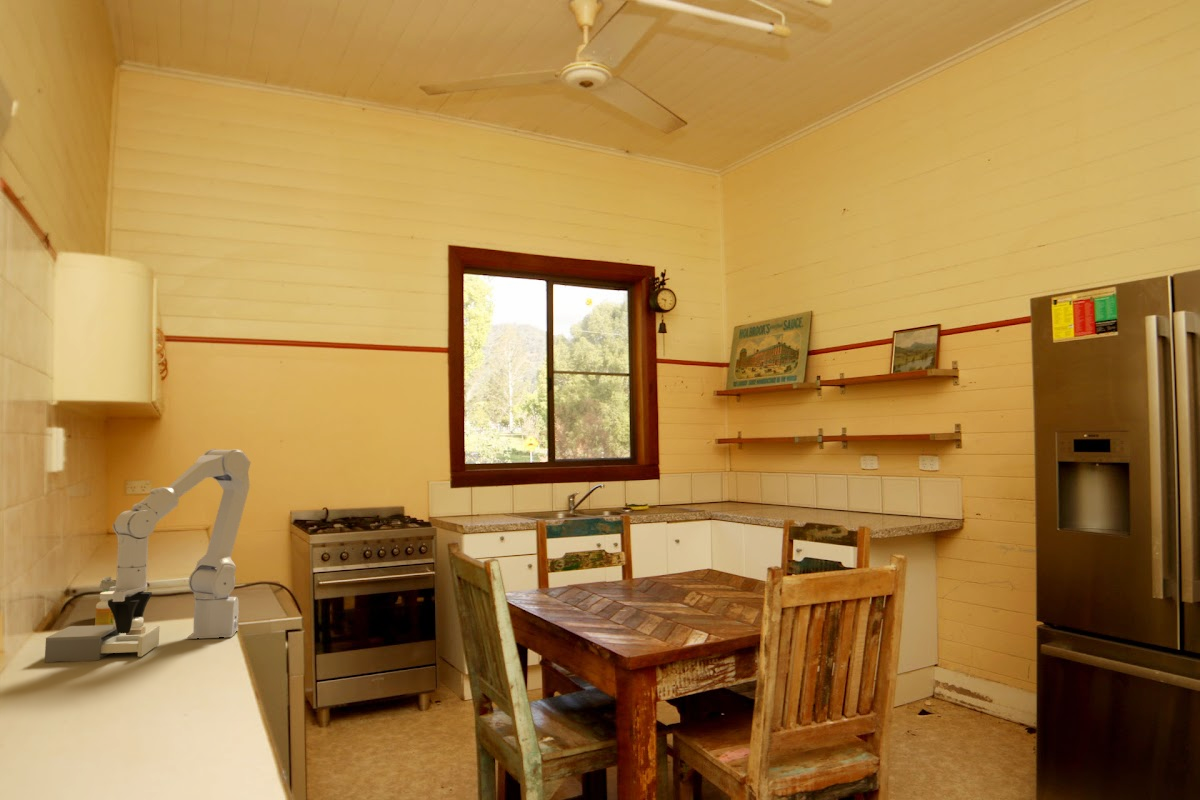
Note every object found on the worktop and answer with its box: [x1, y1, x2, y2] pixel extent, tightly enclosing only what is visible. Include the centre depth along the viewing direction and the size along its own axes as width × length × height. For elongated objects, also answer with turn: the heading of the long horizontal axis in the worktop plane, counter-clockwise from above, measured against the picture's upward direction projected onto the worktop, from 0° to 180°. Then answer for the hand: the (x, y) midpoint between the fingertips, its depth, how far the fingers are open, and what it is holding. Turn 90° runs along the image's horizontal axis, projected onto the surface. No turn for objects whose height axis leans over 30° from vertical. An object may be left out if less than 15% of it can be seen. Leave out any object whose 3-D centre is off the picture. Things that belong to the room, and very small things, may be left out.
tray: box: [101, 625, 160, 657], centre depth 171 cm, size 10×11×4 cm
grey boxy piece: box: [44, 624, 120, 663], centre depth 169 cm, size 10×11×5 cm
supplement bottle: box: [94, 591, 114, 625], centre depth 189 cm, size 5×5×10 cm
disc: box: [113, 617, 144, 629], centre depth 171 cm, size 6×6×2 cm
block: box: [125, 626, 147, 635], centre depth 178 cm, size 3×3×4 cm
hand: (128, 629), depth 171 cm, fingers closed on disc, 6 cm apart
